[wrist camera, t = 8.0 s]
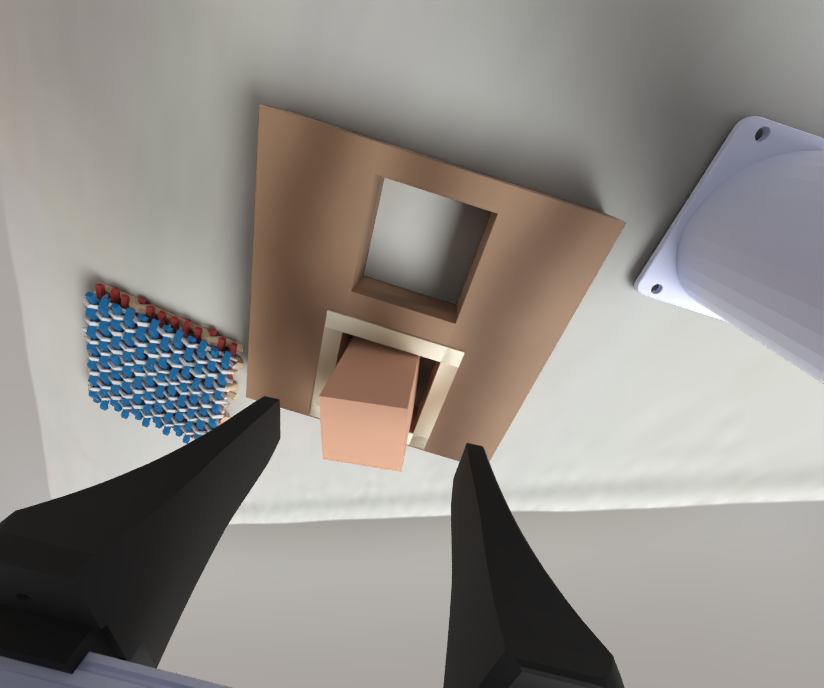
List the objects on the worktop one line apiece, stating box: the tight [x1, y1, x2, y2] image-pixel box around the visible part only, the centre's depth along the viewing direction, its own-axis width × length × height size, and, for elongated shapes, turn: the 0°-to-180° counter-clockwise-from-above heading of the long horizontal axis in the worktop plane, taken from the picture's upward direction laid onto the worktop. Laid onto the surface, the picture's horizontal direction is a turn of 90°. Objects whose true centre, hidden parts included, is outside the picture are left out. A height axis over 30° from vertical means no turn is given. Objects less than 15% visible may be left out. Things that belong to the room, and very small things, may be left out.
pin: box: [319, 336, 421, 471], centre depth 20 cm, size 4×4×7 cm
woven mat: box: [81, 282, 244, 444], centre depth 25 cm, size 10×11×2 cm
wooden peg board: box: [246, 104, 626, 461], centre depth 20 cm, size 16×16×3 cm
